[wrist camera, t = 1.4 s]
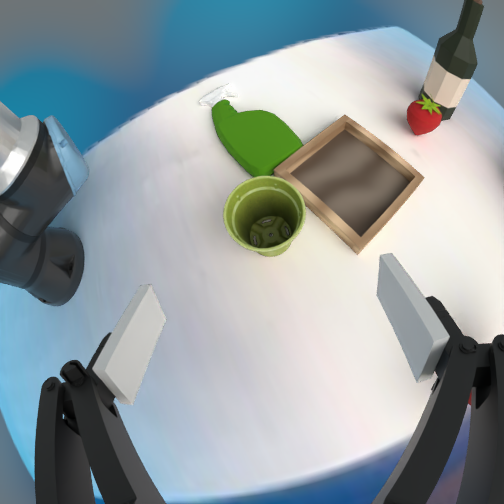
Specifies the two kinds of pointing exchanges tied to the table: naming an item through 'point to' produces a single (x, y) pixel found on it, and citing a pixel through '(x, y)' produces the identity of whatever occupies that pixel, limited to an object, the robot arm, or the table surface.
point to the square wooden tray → (350, 180)
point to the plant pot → (264, 214)
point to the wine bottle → (453, 62)
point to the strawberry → (423, 116)
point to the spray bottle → (251, 134)
